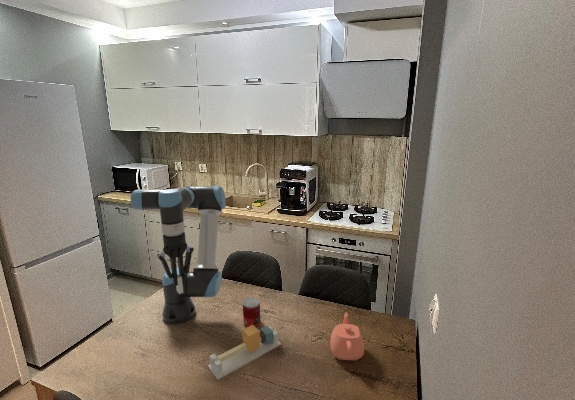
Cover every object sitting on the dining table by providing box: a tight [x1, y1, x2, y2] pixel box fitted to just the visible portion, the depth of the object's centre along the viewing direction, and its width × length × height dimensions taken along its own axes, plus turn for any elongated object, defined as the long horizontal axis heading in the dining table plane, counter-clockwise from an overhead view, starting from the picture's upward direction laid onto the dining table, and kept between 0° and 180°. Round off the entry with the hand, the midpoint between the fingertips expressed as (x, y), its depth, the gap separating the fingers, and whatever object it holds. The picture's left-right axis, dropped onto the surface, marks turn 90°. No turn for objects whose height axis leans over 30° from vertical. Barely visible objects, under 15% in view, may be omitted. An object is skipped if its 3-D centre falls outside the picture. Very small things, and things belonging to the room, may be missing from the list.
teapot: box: [329, 311, 365, 362], centre depth 126 cm, size 13×20×12 cm, turn 175°
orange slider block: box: [241, 325, 260, 353], centre depth 125 cm, size 5×5×8 cm
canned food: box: [242, 297, 261, 328], centre depth 144 cm, size 8×8×11 cm
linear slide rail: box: [207, 325, 282, 380], centre depth 125 cm, size 8×29×7 cm, turn 129°
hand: (180, 291), depth 117 cm, fingers closed
